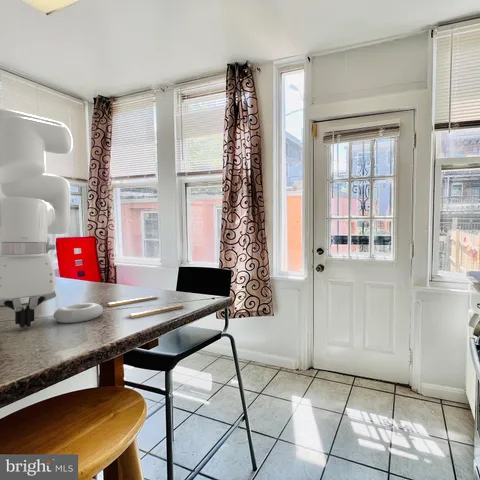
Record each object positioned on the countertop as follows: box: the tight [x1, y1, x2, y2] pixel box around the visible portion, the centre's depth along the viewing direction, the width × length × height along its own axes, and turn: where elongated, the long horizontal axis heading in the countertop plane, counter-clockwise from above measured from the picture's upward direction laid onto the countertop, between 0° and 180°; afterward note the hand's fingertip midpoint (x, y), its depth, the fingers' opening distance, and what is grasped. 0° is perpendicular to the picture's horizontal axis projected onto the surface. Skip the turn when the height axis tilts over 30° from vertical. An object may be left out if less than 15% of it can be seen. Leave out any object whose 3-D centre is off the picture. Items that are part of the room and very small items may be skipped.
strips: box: [107, 295, 184, 319], centre depth 86 cm, size 20×14×1 cm
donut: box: [53, 302, 104, 324], centre depth 73 cm, size 10×4×10 cm
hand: (24, 325), depth 65 cm, fingers closed
